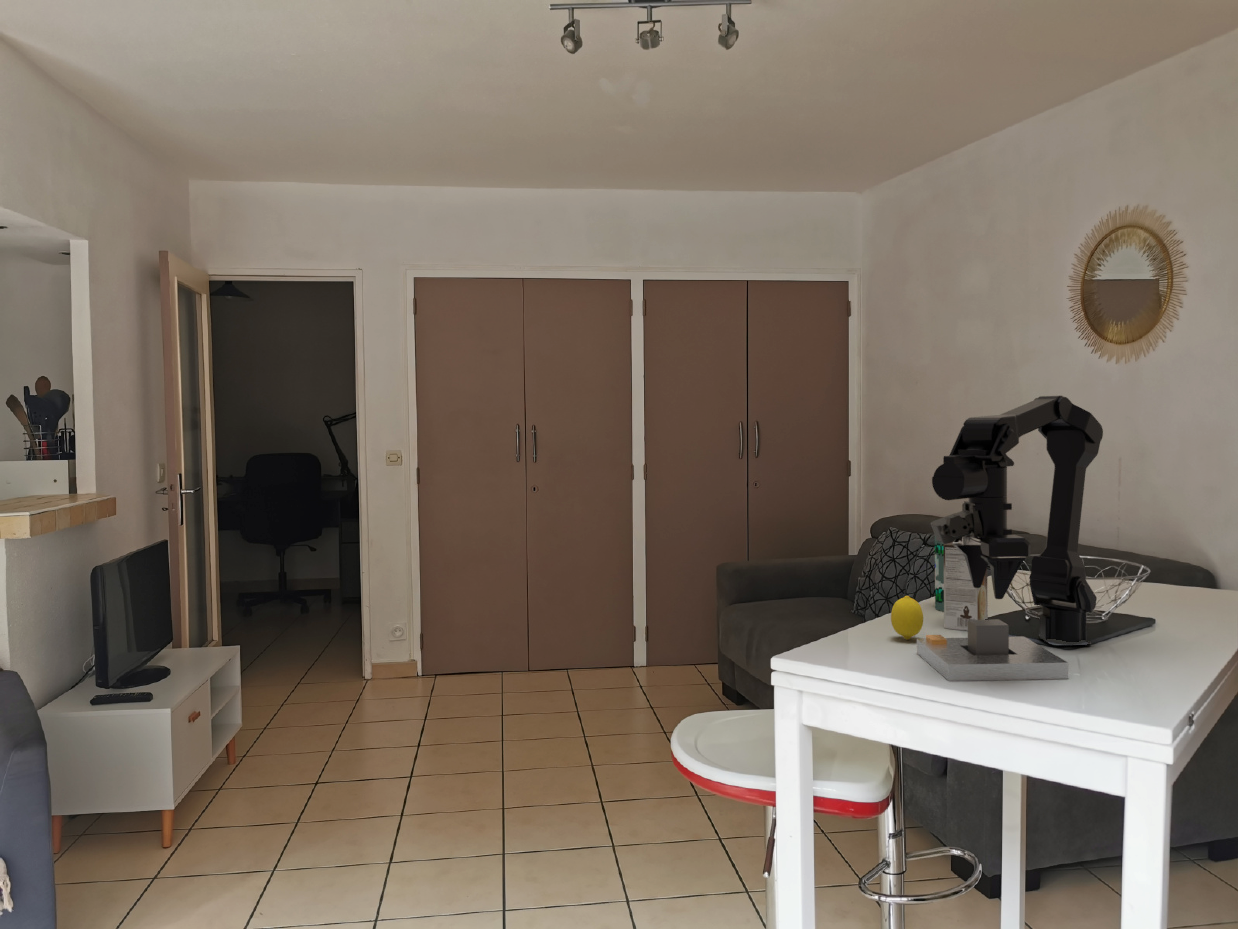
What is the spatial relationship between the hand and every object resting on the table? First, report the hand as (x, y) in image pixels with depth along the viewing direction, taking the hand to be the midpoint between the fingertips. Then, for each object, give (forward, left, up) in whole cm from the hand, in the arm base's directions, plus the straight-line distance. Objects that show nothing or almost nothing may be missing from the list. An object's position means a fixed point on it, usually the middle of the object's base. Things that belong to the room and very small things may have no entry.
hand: (987, 593), depth 145 cm
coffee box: (-6, -27, -12) cm, 30 cm away
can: (-8, -41, -12) cm, 44 cm away
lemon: (+8, -17, -12) cm, 22 cm away
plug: (0, 0, -12) cm, 12 cm away
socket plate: (0, 0, -12) cm, 12 cm away
